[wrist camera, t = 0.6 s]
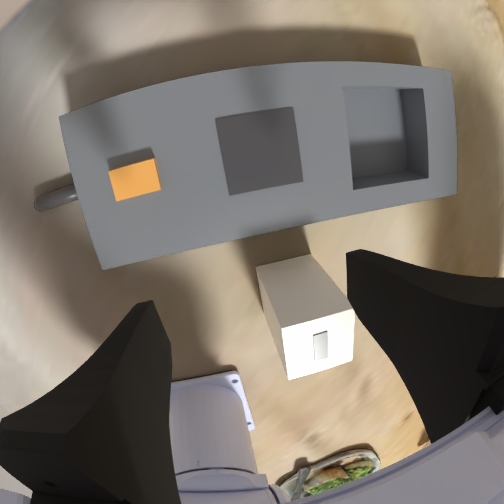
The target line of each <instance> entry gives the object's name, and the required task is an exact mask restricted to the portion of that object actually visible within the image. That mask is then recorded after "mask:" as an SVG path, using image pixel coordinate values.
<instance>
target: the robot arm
mask: <svg viewBox="0 0 504 504" xmlns="http://www.w3.org/2000/svg"><path fill="white" fill-rule="evenodd" d="M346 265H347V299H348V301H349V302H350V304H351V306H352V308H353V310H354V311H355V313H356V315H357V316H358V318H359V320H360V321H361V322H362V323H363V325H364V326H365V327H366V329H367V330H368V331H369V333H370V334H371V335H372V336H373V338H374V339H375V340H376V341H377V343H378V344H379V345H380V347H381V348H382V349H383V350H384V352H385V353H386V354H387V356H388V357H389V358H390V360H391V361H392V363H393V364H394V366H395V368H396V369H397V371H398V373H399V375H400V376H401V378H402V380H403V382H404V383H405V385H406V387H407V389H408V391H409V393H410V395H411V397H412V399H413V401H414V403H415V405H416V408H417V410H418V412H419V414H420V416H421V419H422V421H423V423H424V426H425V429H426V431H427V434H428V437H429V439H430V442H431V445H429V446H427V447H425V448H423V449H422V450H420V451H418V452H416V453H414V454H412V455H410V456H408V457H406V458H404V459H402V460H400V461H398V462H396V463H394V464H392V465H390V466H388V467H386V468H383V469H381V470H379V471H377V472H374V473H372V474H370V475H367V476H365V477H362V478H360V479H357V480H355V481H352V482H349V483H347V484H344V485H341V486H338V487H336V488H333V489H330V490H327V491H324V492H321V493H317V494H314V495H311V496H307V497H304V498H300V499H297V500H293V501H291V499H290V498H289V496H288V495H287V493H286V492H285V491H283V490H282V489H281V488H280V487H279V486H277V485H275V484H271V485H268V481H267V477H266V474H258V469H257V465H256V461H255V456H254V452H253V448H252V443H251V439H250V434H249V431H251V430H253V429H255V424H254V421H253V418H252V415H251V412H250V408H249V405H248V402H247V399H246V395H245V392H244V389H243V385H242V382H241V379H240V375H239V373H238V372H237V371H230V372H225V373H220V374H215V375H210V376H205V377H200V378H194V379H189V380H183V381H177V382H171V377H172V356H171V343H170V341H169V339H168V337H167V334H166V332H165V330H164V327H163V325H162V322H161V320H160V318H159V315H158V313H157V310H156V308H155V305H154V303H153V300H151V301H147V302H142V303H137V304H136V305H135V306H134V307H133V308H132V309H131V310H130V312H129V313H128V314H127V315H126V316H125V318H124V319H123V320H122V321H121V323H120V324H119V325H118V326H117V327H116V329H115V330H114V331H113V332H112V333H111V335H110V336H109V337H108V338H107V339H106V340H105V341H104V343H103V344H102V345H101V346H100V347H99V348H98V349H97V350H96V351H95V353H94V354H93V355H92V356H91V357H90V358H89V359H88V360H87V361H86V362H85V363H84V364H83V365H82V366H80V367H79V368H78V369H77V370H76V371H75V372H74V373H73V374H72V375H70V376H69V377H68V378H67V379H65V380H64V381H63V382H62V383H60V384H59V385H58V386H56V387H55V388H54V389H53V390H51V391H50V392H48V393H47V394H45V395H44V396H42V397H41V398H39V399H38V400H36V401H34V402H33V403H31V404H29V405H28V406H26V407H24V408H22V409H20V410H18V411H16V412H14V413H12V414H10V415H8V416H6V417H4V418H2V420H1V422H0V465H1V466H2V467H3V468H4V469H5V470H6V471H7V472H8V473H10V474H11V475H12V476H13V477H15V478H16V479H17V480H19V481H20V482H21V483H22V484H24V485H25V486H27V487H28V488H29V489H31V490H32V491H33V493H32V498H29V497H27V496H25V495H22V494H19V493H15V492H11V491H8V490H4V489H0V504H504V278H490V277H474V276H464V275H457V274H451V273H446V272H441V271H436V270H432V269H428V268H424V267H420V266H417V265H413V264H410V263H406V262H403V261H400V260H397V259H394V258H391V257H388V256H384V255H381V254H378V253H375V252H371V251H367V250H362V249H359V250H355V251H351V252H348V253H346ZM234 379H236V380H234Z"/></svg>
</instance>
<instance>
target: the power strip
mask: <svg viewBox="0 0 504 504" xmlns="http://www.w3.org/2000/svg"><path fill="white" fill-rule="evenodd" d="M59 120H60V125H61V131H62V135H63V140H64V145H65V149H66V154H67V158H68V162H69V166H70V170H71V174H72V178H73V182H74V184H72V185H69V186H67V187H64V188H61V189H58V190H55V191H53V192H50V193H47V194H45V195H42V196H39V197H38V198H36V200H35V202H34V207H35V209H36V210H37V211H39V212H42V211H45V210H48V209H51V208H53V207H56V206H59V205H62V204H65V203H68V202H71V201H74V200H77V199H79V203H80V206H81V209H82V213H83V216H84V219H85V222H86V225H87V228H88V231H89V234H90V237H91V240H92V243H93V246H94V249H95V251H96V254H97V257H98V259H99V262H100V265H101V267H102V270H106V269H110V268H115V267H119V266H123V265H127V264H132V263H136V262H140V261H144V260H149V259H153V258H157V257H162V256H166V255H170V254H175V253H179V252H184V251H188V250H192V249H197V248H201V247H206V246H210V245H215V244H219V243H224V242H228V241H233V240H237V239H242V238H246V237H251V236H255V235H260V234H265V233H269V232H274V231H279V230H283V229H288V228H293V227H297V226H302V225H307V224H311V223H316V222H321V221H326V220H331V219H335V218H340V217H345V216H350V215H355V214H360V213H365V212H369V211H374V210H379V209H384V208H389V207H394V206H399V205H404V204H409V203H415V202H420V201H425V200H430V199H435V198H440V197H446V196H451V195H456V194H457V133H456V116H455V104H454V95H453V86H452V78H451V72H450V71H449V70H443V69H436V68H429V67H422V66H413V65H404V64H393V63H379V62H356V61H319V62H296V63H281V64H270V65H260V66H251V67H243V68H236V69H229V70H222V71H216V72H210V73H205V74H200V75H194V76H190V77H185V78H180V79H176V80H171V81H167V82H163V83H159V84H155V85H151V86H147V87H144V88H140V89H137V90H133V91H130V92H126V93H123V94H120V95H117V96H114V97H110V98H107V99H104V100H102V101H99V102H96V103H93V104H90V105H87V106H85V107H82V108H79V109H77V110H74V111H72V112H69V113H67V114H64V115H62V116H59Z"/></svg>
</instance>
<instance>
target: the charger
mask: <svg viewBox="0 0 504 504" xmlns="http://www.w3.org/2000/svg"><path fill="white" fill-rule="evenodd" d="M256 271H257V277H258V283H259V288H260V294H261V300H262V305H263V311H264V315H265V318H266V320H267V323H268V326H269V328H270V331H271V334H272V337H273V339H274V342H275V345H276V348H277V350H278V353H279V356H280V358H281V361H282V364H283V367H284V369H285V372H286V375H287V377H288V380H290V379H294V378H298V377H301V376H305V375H308V374H311V373H315V372H318V371H321V370H325V369H328V368H331V367H334V366H337V365H340V364H343V363H346V362H349V361H352V357H353V342H354V321H355V311H354V310H353V308H352V306H351V304H350V302H349V301H348V299H347V297H346V296H345V295H344V294H343V292H342V291H341V290H340V289H339V287H338V286H337V285H336V284H335V283H334V281H333V280H332V279H331V278H330V276H329V275H328V274H327V273H326V272H325V270H324V269H323V268H322V267H321V266H320V264H319V263H318V262H317V261H316V260H315V258H314V257H313V256H312V255H311V254H309V255H304V256H300V257H296V258H292V259H287V260H283V261H279V262H274V263H270V264H266V265H261V266H257V267H256Z"/></svg>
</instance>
